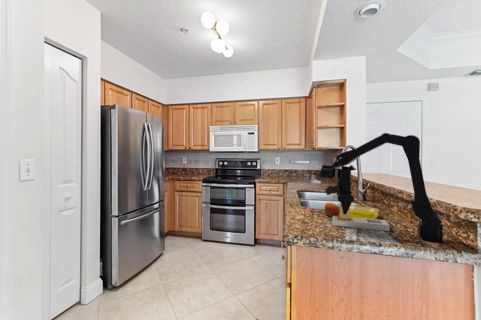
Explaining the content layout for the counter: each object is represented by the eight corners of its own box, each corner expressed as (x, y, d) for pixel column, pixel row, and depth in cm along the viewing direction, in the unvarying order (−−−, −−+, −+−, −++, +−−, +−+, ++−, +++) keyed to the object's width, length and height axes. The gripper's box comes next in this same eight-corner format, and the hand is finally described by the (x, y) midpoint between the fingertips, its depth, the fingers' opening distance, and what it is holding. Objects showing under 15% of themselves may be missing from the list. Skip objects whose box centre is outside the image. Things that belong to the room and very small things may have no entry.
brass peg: (348, 221, 103) (348, 204, 103) (349, 223, 99) (349, 205, 99) (339, 220, 105) (339, 203, 105) (339, 222, 101) (339, 205, 101)
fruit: (318, 212, 120) (324, 199, 121) (327, 218, 122) (333, 205, 123) (328, 215, 112) (335, 201, 113) (339, 222, 114) (345, 208, 116)
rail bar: (385, 225, 99) (385, 219, 99) (389, 231, 92) (389, 224, 92) (332, 220, 108) (332, 215, 108) (332, 225, 100) (332, 219, 100)
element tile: (374, 223, 105) (374, 213, 105) (341, 218, 115) (341, 208, 115) (378, 216, 117) (378, 207, 117) (347, 212, 126) (347, 204, 126)
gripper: (325, 177, 114) (326, 207, 114) (325, 181, 96) (325, 216, 96) (349, 178, 110) (349, 209, 110) (353, 182, 92) (354, 219, 92)
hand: (344, 213), depth 102 cm, fingers closed on brass peg, 4 cm apart
